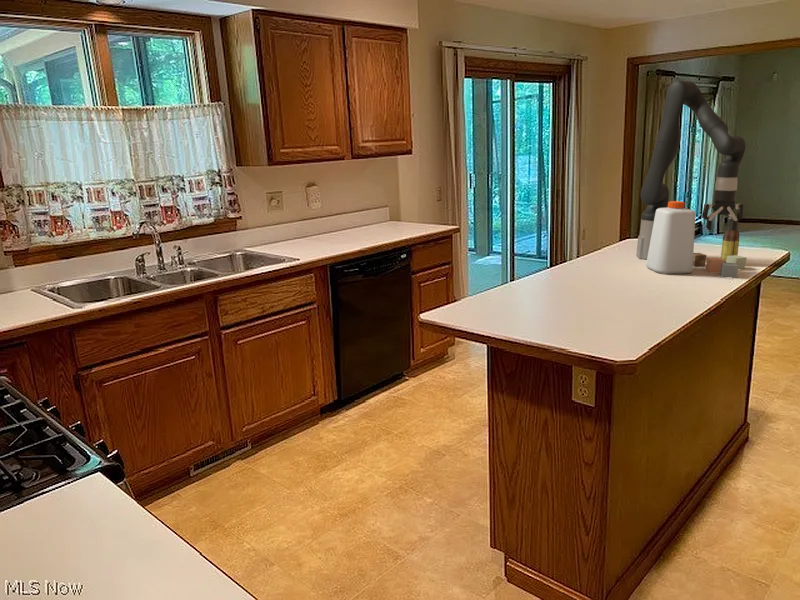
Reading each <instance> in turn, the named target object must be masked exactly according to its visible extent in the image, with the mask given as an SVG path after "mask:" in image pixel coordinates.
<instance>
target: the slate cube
mask: <svg viewBox="0 0 800 600" xmlns="http://www.w3.org/2000/svg"><path fill="white" fill-rule="evenodd" d="M738 271H739V270H738V265H737V264H736V263H724V262H721V269H720V272H719V276H722V277H721V278H725V277H732V278H731V279H737V277H738Z"/></svg>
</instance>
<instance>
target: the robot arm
mask: <svg viewBox="0 0 800 600" xmlns="http://www.w3.org/2000/svg"><path fill="white" fill-rule="evenodd" d="M683 106H686V107H688V108H689V109H690V110H691V111H693V113H694V114H695V116H696V119H697V121H698V124H699V126H700V127H701V129H702V130H703V131H704V132H705V134H706V135H707V136H708V137H709V138H710V140H711V142H712V144H713V146H714V148H715V149H716V151H717V152H718V153H719V154H721V155H723V156H725V158H724V161H722V162H720V163H719V165H718V167H717V175H716V181H715V186H714V192H713V193H714V194H713V201H712V204H710V203H704V205H703V209H702V215H701V218H702V219H704V220H706V223H705V224H706V225H705V228H706V229H707V231H711V230H712V224H713V221H712V220H713V219H714V218H715V217H716V216H722V215H724V216H729V217H731V219H732V220H731V225H730V230H734V229H735V228H736V222H737V220H739V221H740V220H743V214H744V213H743V212H744V204H742V203H737V204H736V203H735V202H736V197H737V189H738V177H739V176H738V174H739V168H740V165H741V163H742V160H743V157H744V154H745V152H746V146H747V145H746V140H745V139H744V137H742V136H740V135H736V136H735V135H733V136H731V135H730V134H729V133H728V132H729V127H728V125H727V124H726V122H724V120H723V119H722V118H721V117H720V116H719V115H718V114H717V113H716V111H715V110H714V109H713V108H712V107H711V105H710V104H709V102H708V101H707V99H706V97H704V95H703V92H702V91H701V90H700V88H699V87H698V85H697V84H696V83H695V82H693V81H691V80H690V81H689V80H682V79H680V80H678V79H677V80H674V81H673V82H672V83H671V84H670V85H669V86H668V88H667V92H666V95H665V101H664V106H663V107H664V108H663V113H662V118H661V121H660V126H659V129H658V134H657V136H656V140H655V146H654V148H653V152H652V157H651V160H650V164H649V168H648V171H647V175H646V177H645V180H644V182H643V184H642V187H641V190H640V200H641V202H642V203H643V204H644V205H646V208H645V210H644V211H643V212H642V213H641V218H640V227H639V228H640V229H639V235H638V236H637V243H636V244H637V245H636V254H635V255H636V257H637V258H638V259H642V260H647V257H648V251H649V246H650V240H651V235H652V229H653V224H654V218H655V213H656V210H657V209H658V208H667V207H668V202H669V199H670V189H669V187H668V186H667V185H666V184H665V183H663V181H664V177H665V175H666V172H667V170H668V169H669V167H670V166H671V165H672V163H673V162H674V160H675V158H676V156H677V153H678V150H679V147H680V143H681V140H682V134H681V133H682V132H681V128H680V127H681V126H680V114H681V110H682V107H683ZM711 208H712V211H711V212H709V210H710V209H711ZM734 209H736V214H735V213H734V211H733V210H734ZM709 213H710V214H709ZM708 214H709V215H708Z"/></svg>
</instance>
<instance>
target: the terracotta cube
mask: <svg viewBox="0 0 800 600" xmlns="http://www.w3.org/2000/svg"><path fill="white" fill-rule="evenodd" d="M721 262H724V263H725V260H723V259H721V257H706V263H705V270H706V271H707V270H708V271H707V272H709V273H720V269H721Z"/></svg>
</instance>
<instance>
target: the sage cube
mask: <svg viewBox="0 0 800 600" xmlns="http://www.w3.org/2000/svg"><path fill="white" fill-rule="evenodd" d="M726 263H736V264H737V265H738V269H742V270H746V269H745V268H746V264H747V257H745V256H743V255H739V254H738V255H733V256H727V259H726Z"/></svg>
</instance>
